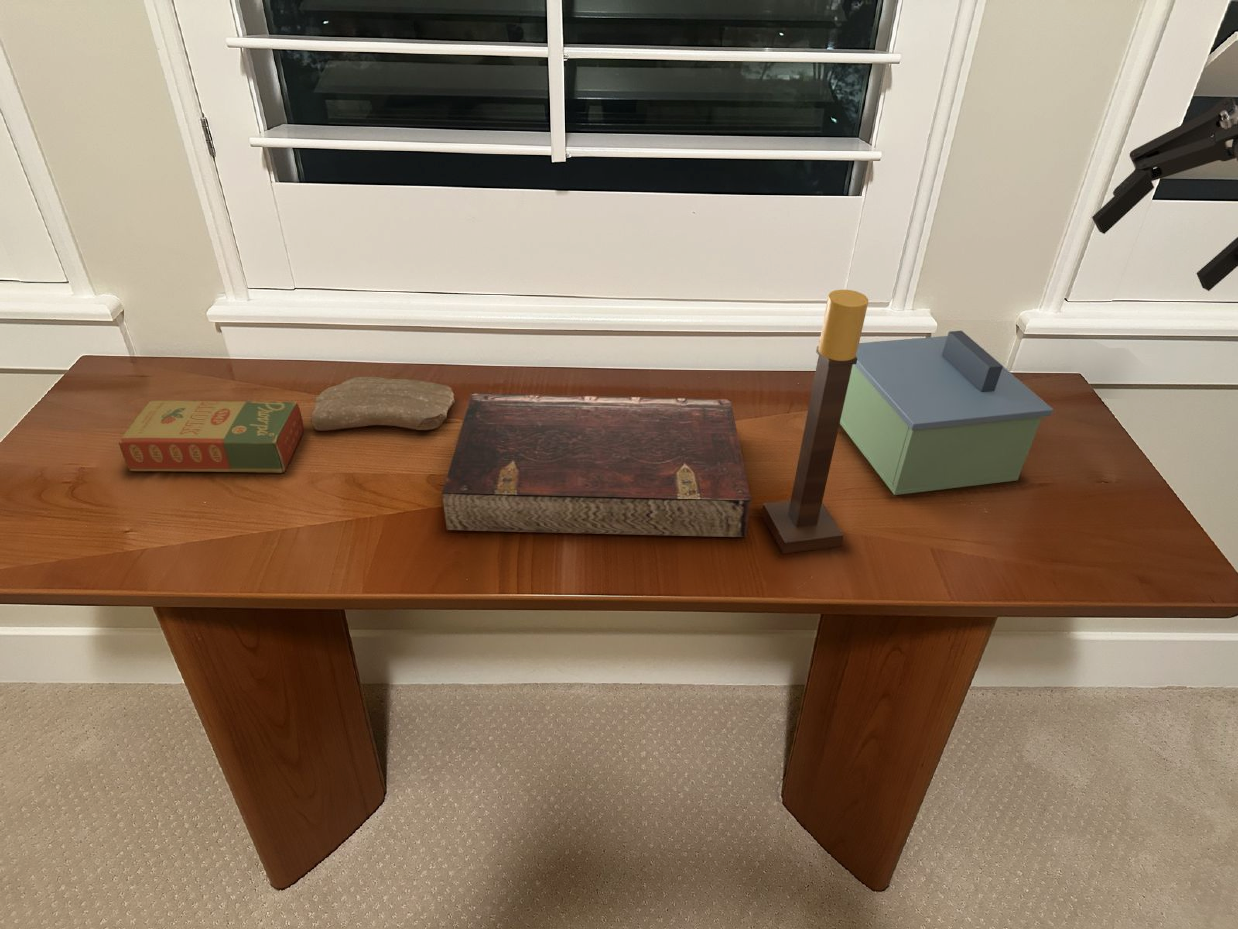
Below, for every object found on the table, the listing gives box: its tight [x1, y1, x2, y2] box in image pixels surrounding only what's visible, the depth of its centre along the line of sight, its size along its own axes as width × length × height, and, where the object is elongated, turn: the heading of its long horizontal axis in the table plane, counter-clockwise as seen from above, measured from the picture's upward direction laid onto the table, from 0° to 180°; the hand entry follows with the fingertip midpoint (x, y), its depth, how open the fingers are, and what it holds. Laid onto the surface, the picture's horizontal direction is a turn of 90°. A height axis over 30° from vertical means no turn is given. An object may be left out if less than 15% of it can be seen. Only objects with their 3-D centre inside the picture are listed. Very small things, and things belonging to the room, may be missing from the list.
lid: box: [854, 330, 1054, 430], centre depth 88 cm, size 17×16×4 cm
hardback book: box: [441, 392, 752, 538], centre depth 86 cm, size 29×19×5 cm, turn 90°
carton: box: [118, 400, 305, 474], centre depth 89 cm, size 8×16×4 cm, turn 92°
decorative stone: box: [310, 376, 455, 432], centre depth 96 cm, size 10×16×4 cm, turn 91°
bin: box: [839, 364, 1043, 496], centre depth 92 cm, size 16×15×9 cm
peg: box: [818, 289, 869, 361], centre depth 69 cm, size 3×3×5 cm
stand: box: [761, 345, 857, 555], centre depth 76 cm, size 6×6×20 cm
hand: (1146, 252), depth 85 cm, fingers open, 13 cm apart
